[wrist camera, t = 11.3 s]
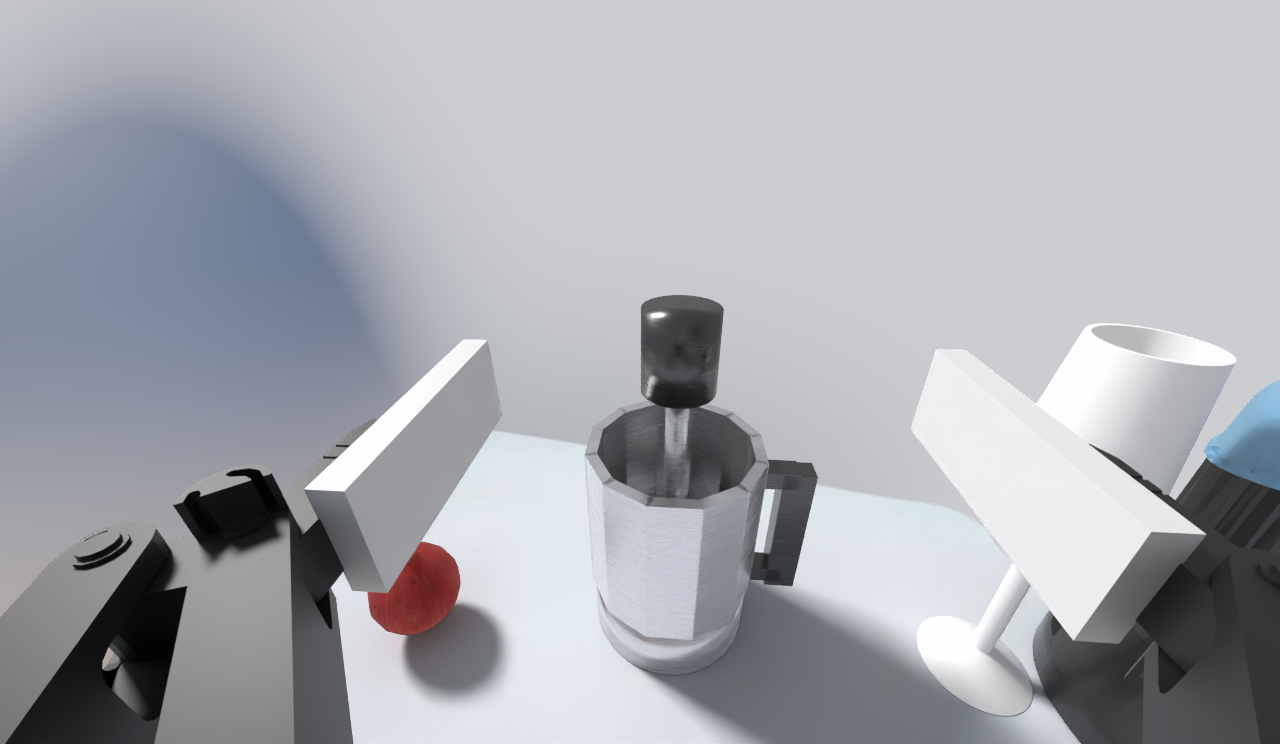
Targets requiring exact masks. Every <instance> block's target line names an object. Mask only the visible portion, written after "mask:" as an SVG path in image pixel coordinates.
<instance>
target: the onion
mask: <svg viewBox="0 0 1280 744" xmlns="http://www.w3.org/2000/svg"><path fill="white" fill-rule="evenodd" d="M459 589H460V575H459V570H458V566H457V564H456V561H455V559H454V558H453V557H452V556H451V555H450V554H449V553H447V552H446V551H445V550H444V549H443V548H442V547H440V546H438V545H434V544H430V543H427V542H420V543H419V545H418V547H417V548H416V550H415V551H414V553H413V554H412V556H411V557H410V559H409V561H408V562H407V564H406V565H405V567H404V568H403V570H402V571H401V573H400V575H399V576H398V578H397V579H396V581H395V582H394V584H393V585H392V587H391V589H390V590H389V592H388V593H379V592H368V601H369V609H370V613H371V616H372V618H373V619H374V620H375V621H376V622H377V623H378V624H380V625H381V626H382V627H383V628H384V629H385V630H386V631H388V632H392V633H396V634H400V635H412V634H420V633H422V632H424V631H426V630H428V629H431V628H433V627H434V626H436V625H437V624H438V623H439V622H440V621H442V620H443V619H444V618H445V617H446V616H447V615H448V613H449V612H450V611H451V609H452V608H453V606H454V605H455V602H456V600H457V597H458V593H459Z"/></svg>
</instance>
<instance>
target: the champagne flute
mask: <svg viewBox="0 0 1280 744" xmlns="http://www.w3.org/2000/svg"><path fill="white" fill-rule="evenodd" d="M1235 362H1236V358H1235V357H1234V355H1232V354H1230V353H1229V352H1228V351H1226V350H1224V349H1222V348H1220V347H1217V346H1215V345H1212V344H1210V343H1207V342H1204V341H1201V340H1198V339H1195V338H1192V337H1188V336H1185V335H1181V334H1177V333H1172V332H1168V331H1163V330H1158V329H1154V328H1148V327H1142V326H1134V325H1125V324H1111V323H1101V324H1092V325H1089V326H1086V327H1085V329H1084V330H1083V332H1082V333H1081V335H1080V336H1079V338H1078V339H1077V341H1076V343H1075V344H1074V346H1073V347H1072V349H1071V350H1070V352H1069V354H1068V355H1067V357H1066V358H1065V360H1064V361H1063V363H1062V365H1061V366H1060V368H1059V369H1058V371H1057V372H1056V374H1055V376H1054V377H1053V379H1052V380H1051V382H1050V383H1049V385H1048V387H1047V388H1046V390H1045V391H1044V393H1043V394H1042V396H1041V398H1040V399H1039V401H1038V402H1037V405H1038V406H1039V407H1041V408H1042V409H1043V410H1045V411H1046V412H1047V413H1049V414H1050V415H1051V416H1053V417H1054V418H1055V419H1056V420H1058V421H1059V422H1060V423H1062V424H1063V425H1064V426H1066V427H1067V428H1068V429H1069V430H1071V431H1072V432H1073V433H1075V434H1076V435H1077V436H1079V437H1080V438H1081V439H1083V440H1084V441H1085V442H1086V443H1088V444H1091V445H1093V446H1095V447H1097V448H1099V449H1101V450H1103V451H1105V452H1107V453H1109V454H1111V455H1113V456H1115V457H1117V458H1119V459H1120V460H1122V461H1123V462H1124V463H1126V464H1127V465H1129V466H1130V467H1131V468H1133V469H1134V470H1135V471H1137V472H1138V473H1139V474H1141V475H1142V476H1143V479H1144V480H1149V481H1150V482H1151V483H1153V484H1154V485H1155V486H1157V487H1158V488H1159V489H1161V490H1162V493H1163V495H1169V493H1170V492H1171V490H1172V487H1173V485H1174V483H1175V481H1176V480H1177V478H1178V476H1179V474H1180V472H1181V470H1182V468H1183V466H1184V464H1185V462H1186V460H1187V458H1188V456H1189V454H1190V452H1191V450H1192V448H1193V446H1194V444H1195V442H1196V440H1197V438H1198V436H1199V434H1200V432H1201V430H1202V428H1203V426H1204V424H1205V422H1206V420H1207V418H1208V416H1209V414H1210V412H1211V410H1212V408H1213V406H1214V404H1215V402H1216V400H1217V398H1218V396H1219V394H1220V392H1221V390H1222V388H1223V386H1224V384H1225V382H1226V380H1227V378H1228V376H1229V375H1230V373H1231V371H1232V369H1233V367H1234V365H1235ZM985 527H986V526H985ZM986 529H987V528H986ZM987 531H988V533H989V535H990V537H991V538H992V540H993V541H994V542H995V544H996V545H997V546H998V547H999V548H1000V549H1001V551H1002V552H1003V553H1004V554H1005V555H1006V556H1007V558H1008V559H1009V560H1010V561H1011V562H1012V560H1011V559H1010V558H1009V556H1008V555H1007V554H1006V552H1005V551H1004V550H1003V549H1002V547H1001V546H1000V545H999V543H998V542H997V541H996V539H995V538H994V537H993V536H992V534H991V533H990V532H989V530H988V529H987ZM1030 586H1031V585H1030V584H1029V582H1028V581H1027V580H1026V578H1025V577H1024V576H1023V575H1022V573H1021V572H1020V571H1019V569H1018V568H1017V567H1016V565H1015V564H1014V563H1012V565H1011V567H1010V569H1009V571H1008V572H1007V574H1006V576H1005V578H1004V580H1003V582H1002V583H1001V585H1000V587H999V589H998V591H997V592H996V594H995V596H994V598H993V600H992V601H991V603H990V605H989V607H988V609H987V611H986V612H985V614H984V616H983V618H982V620H981V621H980V623H979V625H978V626H977V625H975V624H973V623H971V622H968V621H966V620H963V619H960V618H956V617H950V616H935V617H932V618H929V619H927V620H926V621H924V622H923V623H922V624H921V626H920V627H919V630H918V633H917V644H918V649H919V652H920V654H921V657H922V659H923V661H924V663H925V664H926V666H927V667H928V669H929V671H930V672H931V673H932V674H933V675H934V677H935V678H936V679H937V680H938V681H939V682H940V683H941V684H942V685H943V686H944V687H945V688H946V689H947V690H948V691H950V692H951V693H952V694H953V695H955V696H956V697H957V698H959V699H960V700H962V701H964V702H965V703H967V704H969V705H970V706H972V707H975V708H977V709H979V710H981V711H984V712H987V713H990V714H994V715H1001V716H1012V715H1017V714H1020V713H1022V712H1024V711H1025V710H1026V709H1027V708H1028V707H1029V705H1030V703H1031V701H1032V693H1033V691H1032V686H1031V681H1030V679H1029V677H1028V674H1027V672H1026V670H1025V669H1024V667H1023V665H1022V664H1021V662H1020V661H1019V660H1018V658H1017V657H1016V656H1015V655H1014V653H1013V652H1012V651H1011V650H1010V649H1009V648H1008V647H1007V646H1006V645H1005V644H1004V643H1002V642H1001V641H1000V640H999V638H1000V636H1001V634H1002V633H1003V631H1004V629H1005V628H1006V626H1007V624H1008V623H1009V621H1010V619H1011V618H1012V616H1013V614H1014V613H1015V611H1016V609H1017V608H1018V606H1019V604H1020V603H1021V601H1022V599H1023V598H1024V596H1025V594H1026V593H1027V591H1028V589H1029V588H1030Z"/></svg>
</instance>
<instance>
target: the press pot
mask: <svg viewBox="0 0 1280 744" xmlns="http://www.w3.org/2000/svg"><path fill="white" fill-rule="evenodd" d="M665 416H666V407H662V406H659V405H656V404H654V403H652V402H650V401H645V402H641V403H637V404H633V405H629V406H625V407H621V408H619V409H617V410H616V411H615V412H613V413H612V414H610V415H609V416H608V417H606V418H605V419H604V420H602V421H601V422H600V423H598V424H597V425H595V426H594V427H593V429H592V433H591V436H590V439H589V443H588V446H587V449H586V453H585V466H586V480H587V495H588V509H589V524H590V539H591V553H592V568H593V578H594V580H595V583H596V585H597V601H598V614H599V619H600V623H601V626H602V629H603V631H604V633H605V635H606V637H607V639H608V641H609V642H610V643H611V645H612V646H613V647H614V649H615V650H616V651H617V652H618V653H619V654H620V655H621V656H623V657H624V658H625V659H626V660H627V661H629V662H631V663H632V664H634V665H636V666H637V667H640V668H642V669H644V670H647V671H650V672H654V673H658V674H664V675H682V674H689V673H692V672H696V671H699V670H701V669H704V668H706V667H708V666H709V665H711V664H713V663H714V662H716V661H717V660H718V659H719V658H720V657H721V656H723V655H724V653H725V652H726V651H727V650H728V649H729V647H730V646H731V644H732V642H733V641H734V639H735V636H736V634H737V631H738V627H739V623H740V617H741V610H742V604H743V598H744V595H745V593H746V591H747V589H748V586H749V580H763V581H764V584H768V585H783V586H792V585H793V581H794V577H795V573H796V568H797V564H798V560H799V556H800V551H801V547H802V543H803V539H804V534H805V530H806V526H807V521H808V517H809V513H810V509H811V504H812V500H813V496H814V492H815V487H816V483H817V478H818V477H817V475H816V472H815V470H814V467H813V465H812V463H799V462H796V461H783V460H768V459H767V455H766V451H765V448H764V444H763V441H762V437H761V434H759V433H758V432H757V431H756V430H754V429H753V428H752V427H751V426H749V425H748V424H747V423H746V422H744V421H743V420H742V419H741V418H740V417H738V416H737V415H736V414H734V413H733V412H730V411H727V410H724V409H721V408H718V407H715V406H712V405H709V404H705V405H703V406H700V407H696V408H690V409H689V419H688V436H687V452H686V469H685V485H684V499H677V498H663V478H664V447H665ZM765 489H775V493H774V499H773V504H772V510H771V515H770V521H769V526H768V532H767V537H766V543H765V548H764V553H758V552H754V550H755V544H756V538H757V533H758V527H759V521H760V515H761V509H762V503H763V497H764V491H765Z"/></svg>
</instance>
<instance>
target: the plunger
mask: <svg viewBox="0 0 1280 744" xmlns="http://www.w3.org/2000/svg"><path fill="white" fill-rule="evenodd" d="M723 310H724V309H723V307H722V306H721V305H720V304H719V303H717V302H715V301H712V300H710V299H706V298H702V297H696V296H687V295H672V296H662V297H657V298H653V299H650V300H648V301H646V302H644V303H643V304H642V307H641V392H642V394H643V396H644V397H645V398H646V399H647V400H649V401H650V402H652V403H654V404H656V405H659V406H662V407H666V416H665V447H664V478H663V498H677V499H684V485H685V469H686V452H687V436H688V419H689V409H690V408H696V407H700V406H703V405H705V404H707V403H709V402H710V401H712V400H713V398H714V397H715V395H716V389H717V378H718V377H717V376H718V367H719V366H718V365H719V356H720V345H721V334H722V323H723Z"/></svg>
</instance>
